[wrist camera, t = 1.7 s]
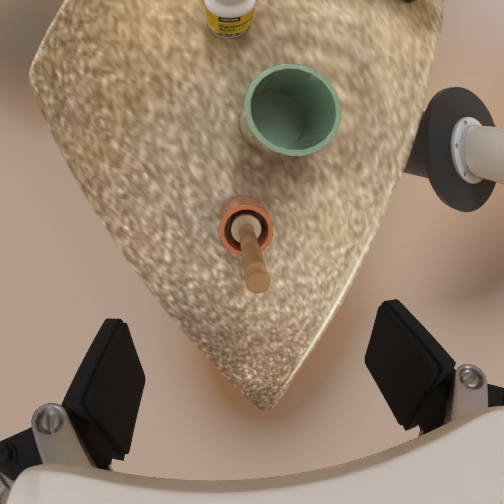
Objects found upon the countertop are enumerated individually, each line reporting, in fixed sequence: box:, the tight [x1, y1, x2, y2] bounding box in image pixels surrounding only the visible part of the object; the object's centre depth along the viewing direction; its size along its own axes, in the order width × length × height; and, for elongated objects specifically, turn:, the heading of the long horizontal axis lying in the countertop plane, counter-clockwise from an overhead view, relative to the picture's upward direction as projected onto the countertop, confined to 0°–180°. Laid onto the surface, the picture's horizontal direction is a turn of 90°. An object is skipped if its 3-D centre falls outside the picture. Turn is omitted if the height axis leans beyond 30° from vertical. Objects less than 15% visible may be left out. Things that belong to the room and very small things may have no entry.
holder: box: [219, 195, 273, 256], centre depth 31 cm, size 6×6×6 cm
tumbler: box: [239, 64, 341, 156], centre depth 25 cm, size 8×8×11 cm
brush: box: [231, 210, 270, 293], centre depth 26 cm, size 3×3×17 cm
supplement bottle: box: [205, 0, 256, 38], centre depth 20 cm, size 5×5×10 cm
